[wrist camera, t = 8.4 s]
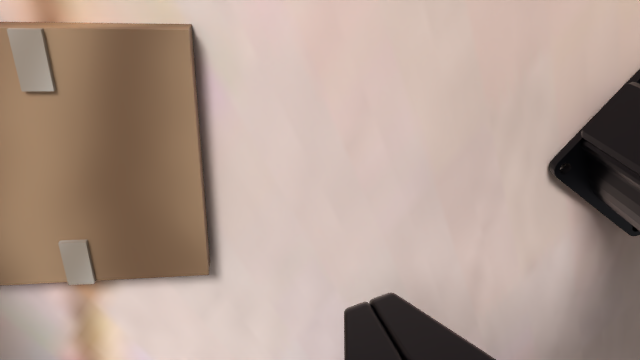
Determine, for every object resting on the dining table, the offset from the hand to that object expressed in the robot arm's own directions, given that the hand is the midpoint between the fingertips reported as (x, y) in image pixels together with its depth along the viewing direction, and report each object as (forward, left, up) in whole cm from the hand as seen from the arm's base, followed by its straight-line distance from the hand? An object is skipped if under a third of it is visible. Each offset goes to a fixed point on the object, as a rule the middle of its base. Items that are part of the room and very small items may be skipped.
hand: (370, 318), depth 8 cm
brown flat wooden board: (+9, +9, -12) cm, 18 cm away
